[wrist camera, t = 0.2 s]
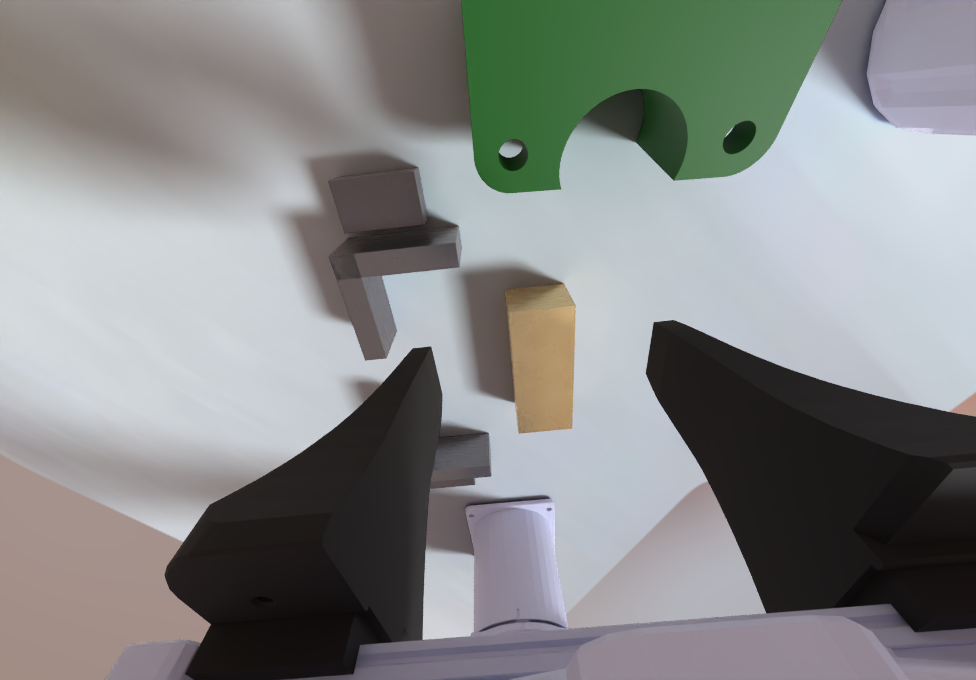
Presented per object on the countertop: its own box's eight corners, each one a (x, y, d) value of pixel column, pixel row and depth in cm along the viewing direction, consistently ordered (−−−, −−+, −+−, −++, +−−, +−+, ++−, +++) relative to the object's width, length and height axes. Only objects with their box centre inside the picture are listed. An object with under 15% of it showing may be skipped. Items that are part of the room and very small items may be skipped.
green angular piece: (507, 123, 20) (437, 191, 15) (505, -27, 16) (404, -14, 10) (746, 135, 17) (776, 229, 11) (825, -52, 13) (939, -53, 7)
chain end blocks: (493, 468, 30) (495, 501, 27) (422, 474, 30) (417, 508, 27) (449, 163, 17) (444, 171, 15) (329, 178, 18) (304, 188, 15)
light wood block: (562, 396, 26) (572, 428, 23) (514, 400, 26) (518, 433, 23) (562, 281, 21) (575, 305, 18) (504, 288, 21) (508, 312, 19)
